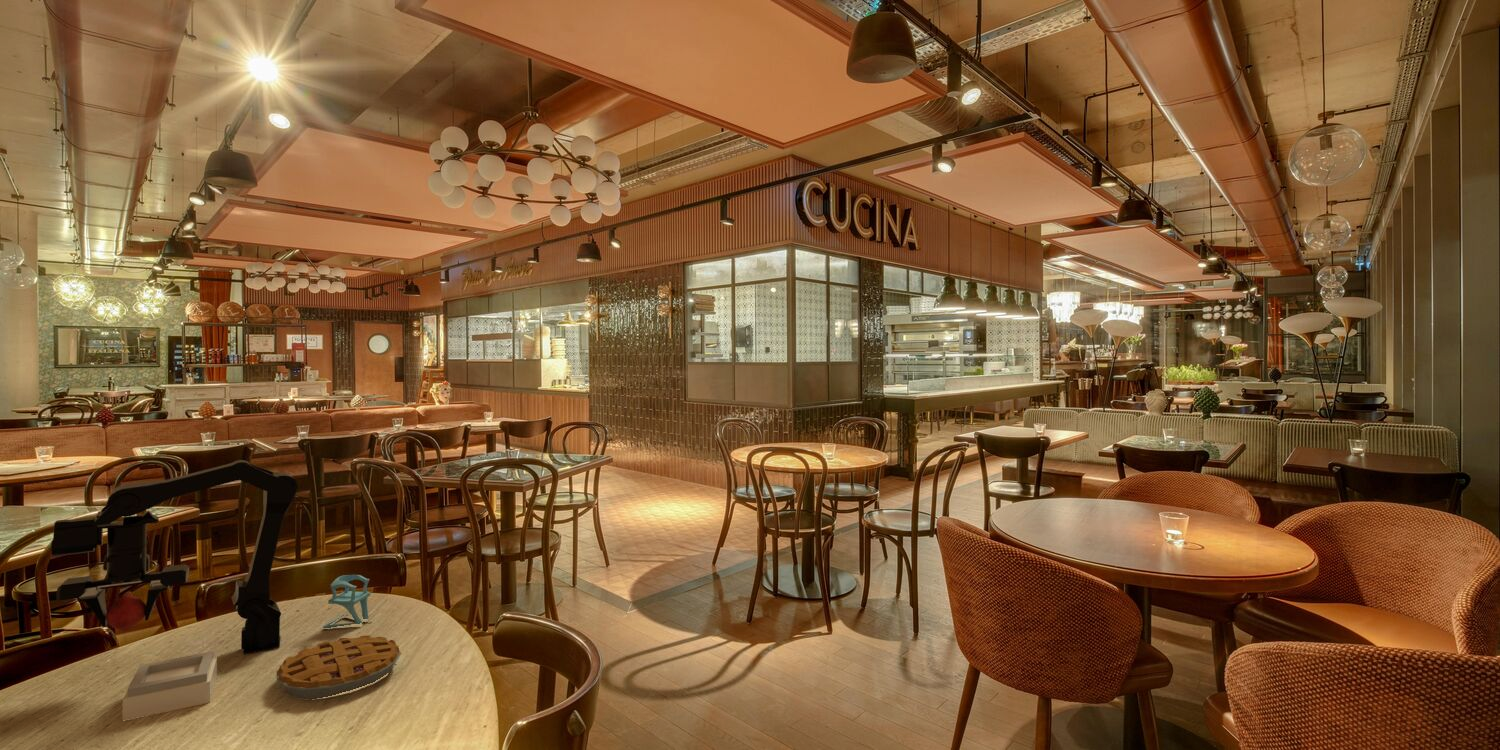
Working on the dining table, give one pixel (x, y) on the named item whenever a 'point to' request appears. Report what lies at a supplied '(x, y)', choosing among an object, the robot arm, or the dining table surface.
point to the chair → (349, 598)
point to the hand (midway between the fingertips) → (126, 623)
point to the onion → (126, 612)
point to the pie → (337, 666)
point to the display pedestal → (170, 685)
